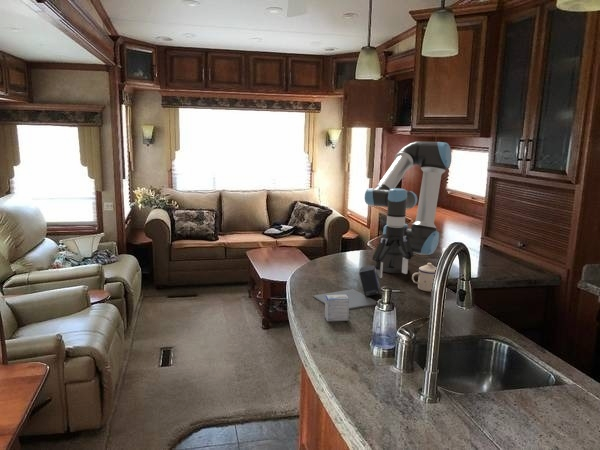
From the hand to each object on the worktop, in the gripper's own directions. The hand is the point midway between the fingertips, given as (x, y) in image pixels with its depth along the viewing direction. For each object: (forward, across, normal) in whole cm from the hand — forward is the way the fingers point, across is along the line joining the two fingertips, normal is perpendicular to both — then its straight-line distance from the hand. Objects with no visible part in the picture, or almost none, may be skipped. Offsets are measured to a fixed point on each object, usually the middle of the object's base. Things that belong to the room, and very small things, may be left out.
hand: (392, 275), depth 202 cm
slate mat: (+8, +23, 0) cm, 24 cm away
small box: (+7, +9, 0) cm, 11 cm away
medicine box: (+8, +37, +15) cm, 41 cm away
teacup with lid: (+8, -18, +2) cm, 19 cm away
